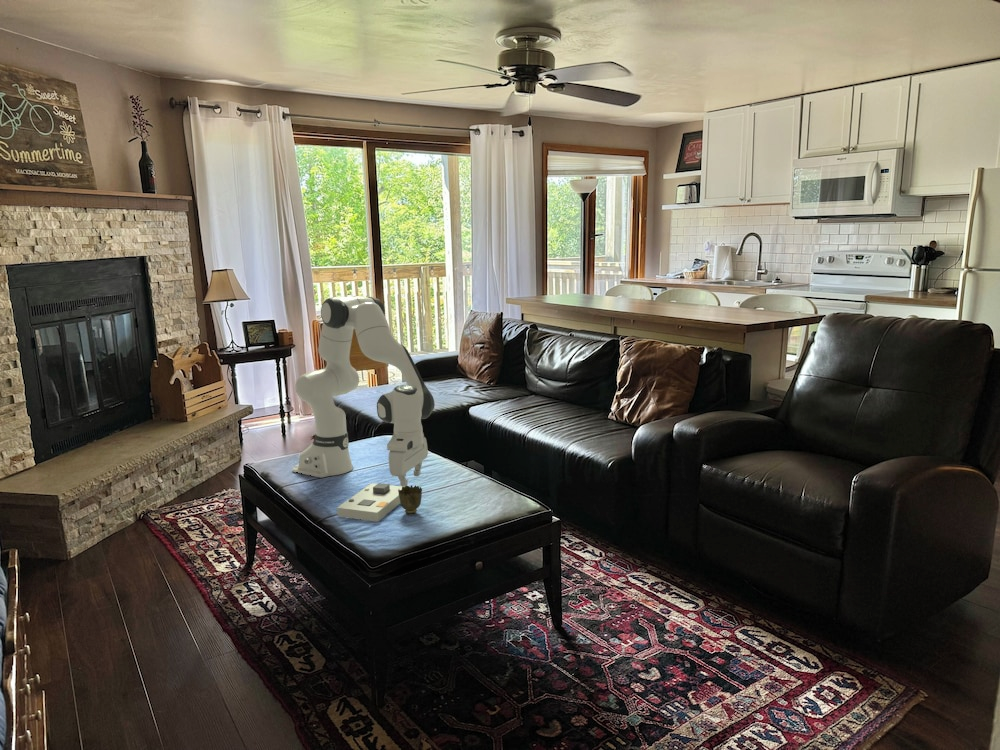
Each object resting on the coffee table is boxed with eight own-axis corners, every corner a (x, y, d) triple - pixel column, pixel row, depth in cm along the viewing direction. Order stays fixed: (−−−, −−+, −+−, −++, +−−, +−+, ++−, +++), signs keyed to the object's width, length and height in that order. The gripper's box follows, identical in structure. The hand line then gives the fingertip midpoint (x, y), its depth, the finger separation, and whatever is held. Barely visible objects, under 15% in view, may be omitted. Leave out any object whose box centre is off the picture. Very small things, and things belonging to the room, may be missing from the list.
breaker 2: (373, 496, 217) (372, 487, 216) (379, 492, 220) (378, 483, 220) (384, 497, 215) (383, 488, 215) (390, 493, 219) (389, 484, 219)
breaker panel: (337, 516, 206) (337, 506, 205) (372, 491, 226) (371, 482, 225) (377, 521, 201) (377, 511, 201) (409, 495, 222) (408, 486, 221)
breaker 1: (358, 513, 208) (357, 504, 207) (364, 508, 211) (364, 499, 211) (369, 514, 207) (369, 505, 206) (375, 510, 210) (375, 500, 210)
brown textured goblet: (409, 506, 213) (408, 483, 211) (427, 511, 209) (426, 487, 207) (394, 514, 206) (393, 490, 205) (413, 519, 203) (412, 495, 201)
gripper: (413, 428, 213) (415, 469, 216) (384, 446, 194) (386, 491, 197) (431, 429, 211) (433, 470, 214) (403, 448, 192) (405, 492, 195)
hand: (410, 480), depth 205 cm, fingers open, 8 cm apart
